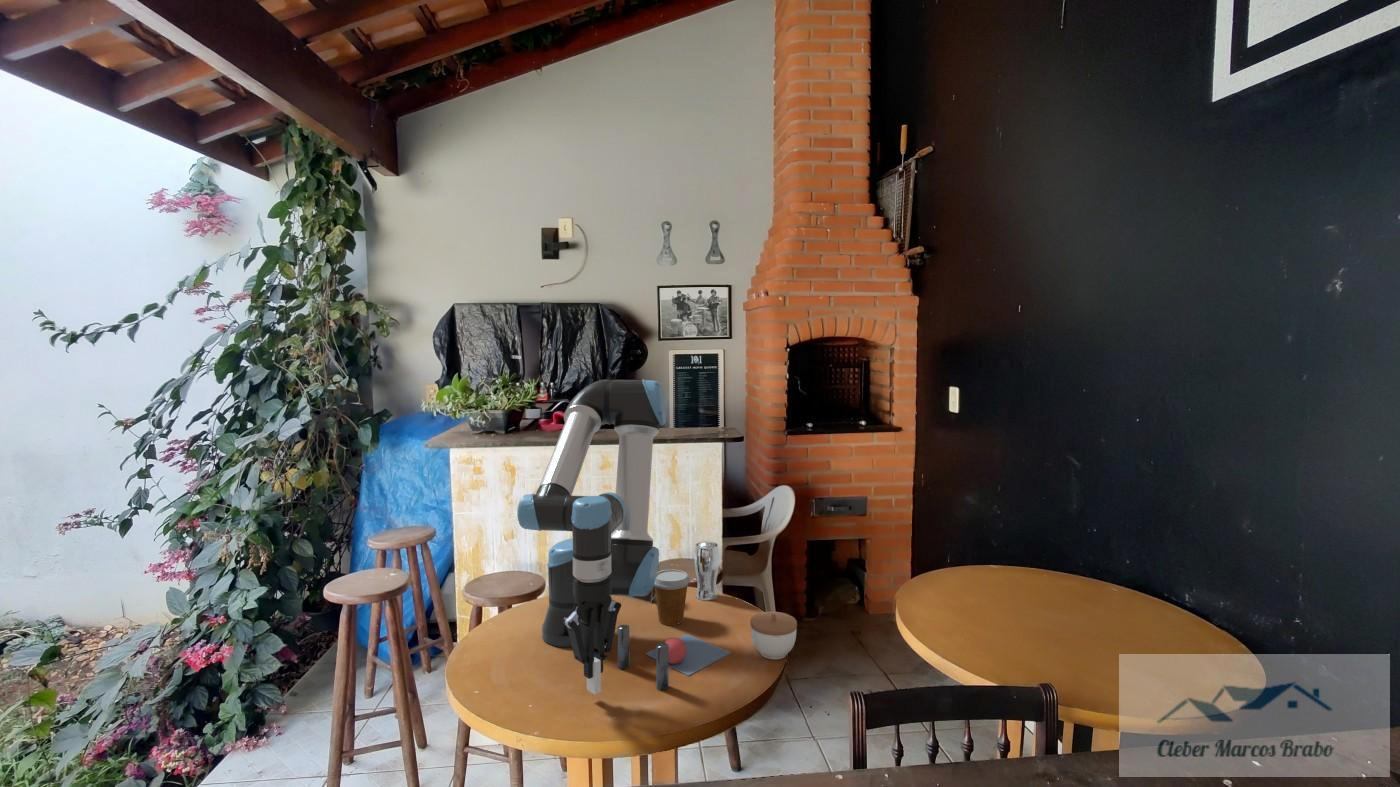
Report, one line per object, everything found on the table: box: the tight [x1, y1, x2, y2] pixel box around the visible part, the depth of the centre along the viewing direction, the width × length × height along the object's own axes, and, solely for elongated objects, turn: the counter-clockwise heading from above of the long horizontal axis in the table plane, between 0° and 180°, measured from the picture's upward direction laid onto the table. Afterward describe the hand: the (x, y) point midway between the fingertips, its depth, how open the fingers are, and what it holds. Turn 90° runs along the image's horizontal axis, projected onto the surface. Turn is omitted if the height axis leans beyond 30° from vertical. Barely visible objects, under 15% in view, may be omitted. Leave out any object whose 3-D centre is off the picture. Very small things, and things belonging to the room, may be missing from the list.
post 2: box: [655, 642, 670, 692], centre depth 132 cm, size 3×3×9 cm
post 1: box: [617, 624, 630, 671], centre depth 140 cm, size 3×3×9 cm
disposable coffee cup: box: [654, 568, 690, 626], centre depth 164 cm, size 10×10×12 cm
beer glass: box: [694, 540, 720, 601], centre depth 180 cm, size 7×7×15 cm
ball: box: [664, 637, 686, 664], centre depth 143 cm, size 6×6×6 cm
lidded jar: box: [749, 611, 798, 660], centre depth 147 cm, size 11×11×9 cm
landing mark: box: [645, 633, 732, 677], centre depth 147 cm, size 14×14×1 cm
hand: (593, 690), depth 127 cm, fingers closed
